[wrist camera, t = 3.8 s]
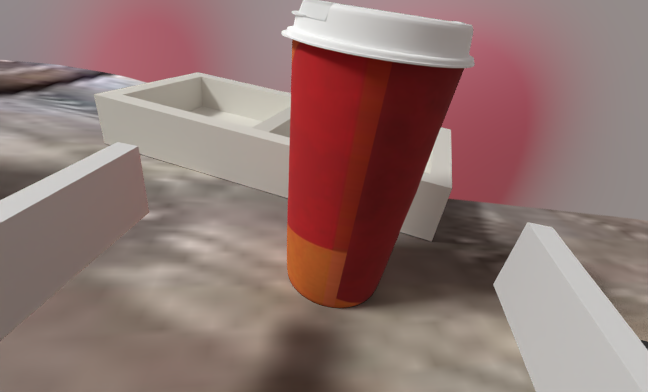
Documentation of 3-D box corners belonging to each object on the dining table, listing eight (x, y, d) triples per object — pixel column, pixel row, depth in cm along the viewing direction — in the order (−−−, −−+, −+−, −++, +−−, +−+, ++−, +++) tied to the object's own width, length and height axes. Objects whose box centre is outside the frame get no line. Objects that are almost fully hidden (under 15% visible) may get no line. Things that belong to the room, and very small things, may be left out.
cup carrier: (437, 169, 36) (450, 129, 34) (431, 241, 24) (452, 188, 22) (200, 109, 42) (198, 72, 40) (104, 143, 30) (93, 94, 28)
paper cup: (384, 239, 24) (448, 20, 16) (407, 332, 17) (530, 33, 10) (275, 226, 23) (292, -5, 16) (255, 317, 16) (270, -9, 9)
